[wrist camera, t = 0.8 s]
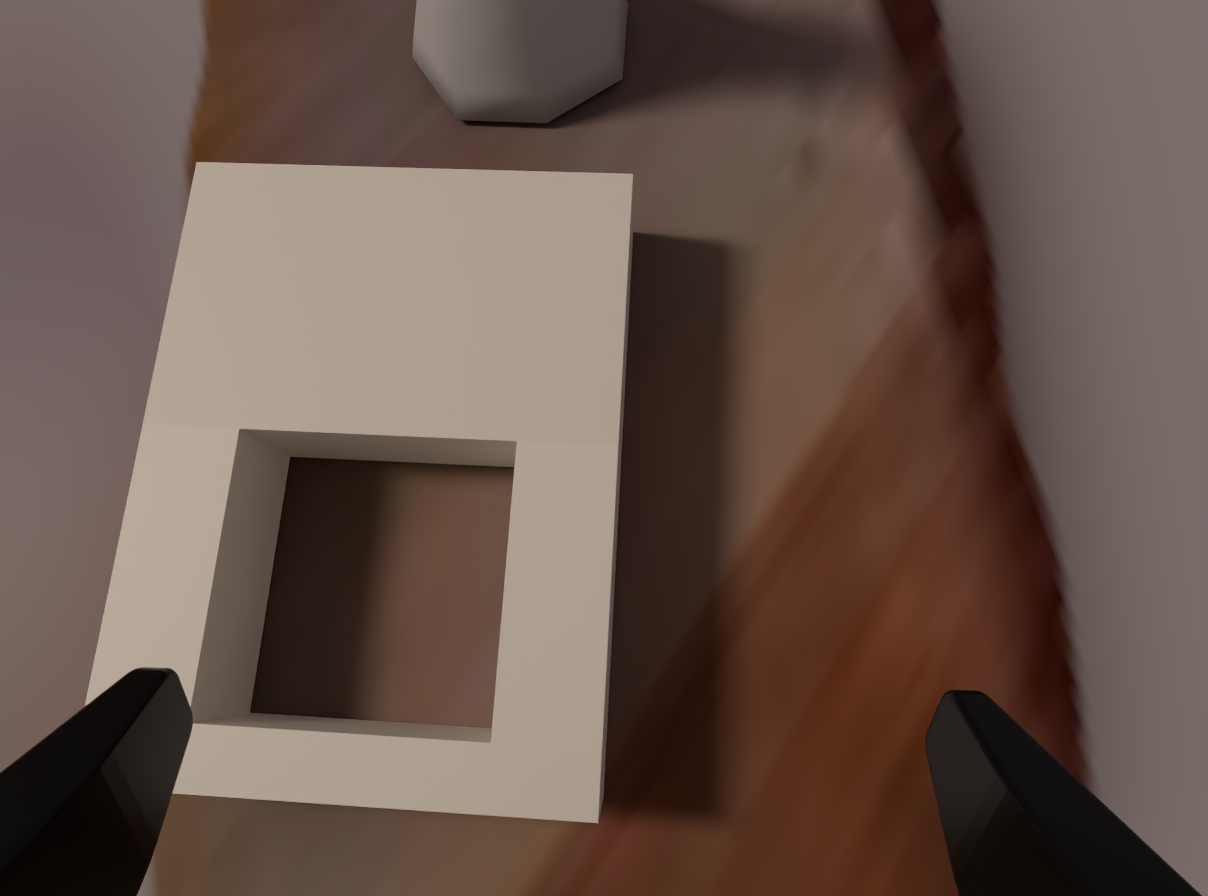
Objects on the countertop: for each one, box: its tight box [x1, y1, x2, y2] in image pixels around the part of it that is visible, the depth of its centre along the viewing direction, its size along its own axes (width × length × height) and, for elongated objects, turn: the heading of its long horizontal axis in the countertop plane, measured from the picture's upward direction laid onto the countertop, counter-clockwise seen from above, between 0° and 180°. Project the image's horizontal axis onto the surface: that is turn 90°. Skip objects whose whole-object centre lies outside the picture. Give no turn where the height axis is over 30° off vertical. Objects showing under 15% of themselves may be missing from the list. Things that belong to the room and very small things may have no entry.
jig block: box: [85, 162, 633, 823], centre depth 21 cm, size 16×12×3 cm
